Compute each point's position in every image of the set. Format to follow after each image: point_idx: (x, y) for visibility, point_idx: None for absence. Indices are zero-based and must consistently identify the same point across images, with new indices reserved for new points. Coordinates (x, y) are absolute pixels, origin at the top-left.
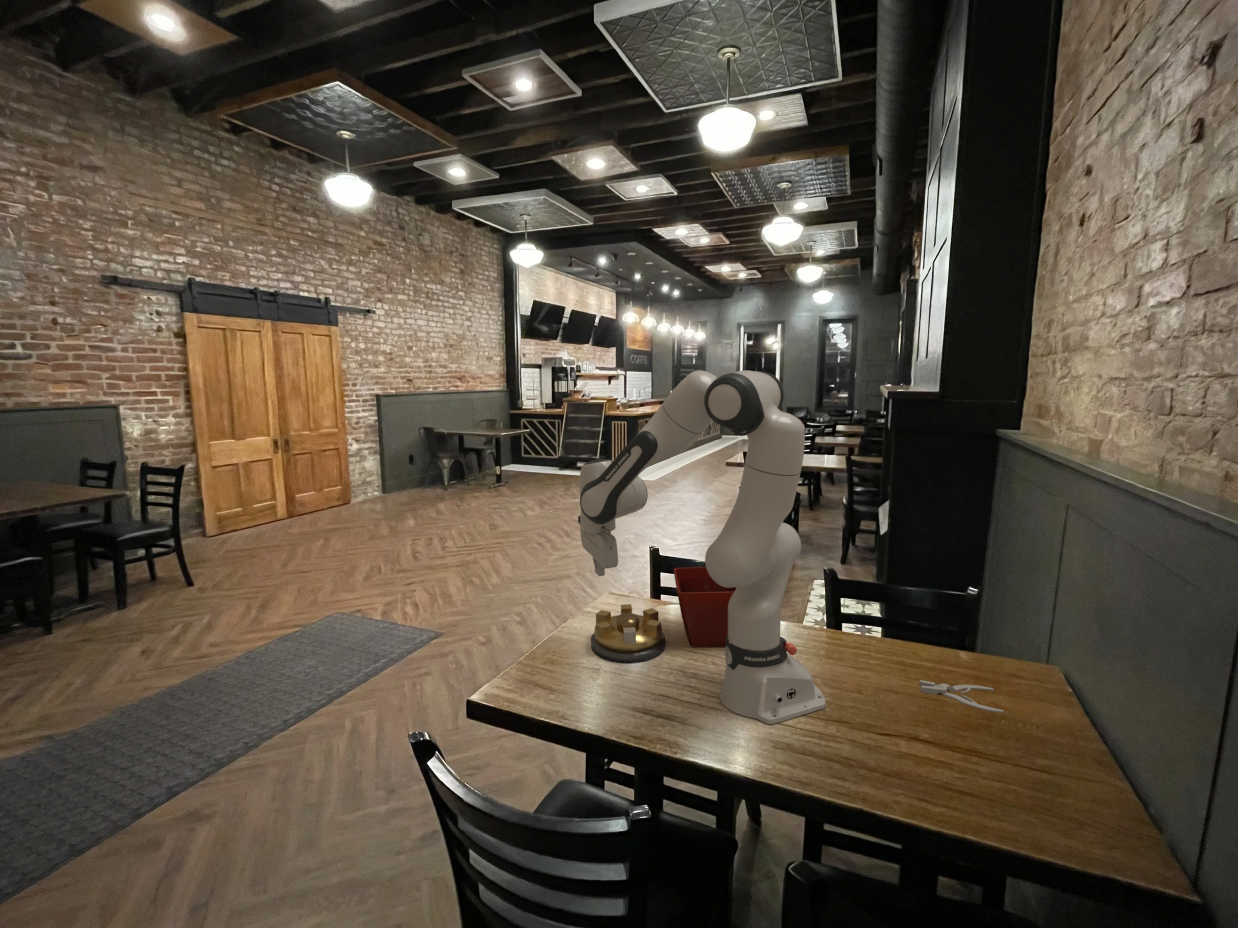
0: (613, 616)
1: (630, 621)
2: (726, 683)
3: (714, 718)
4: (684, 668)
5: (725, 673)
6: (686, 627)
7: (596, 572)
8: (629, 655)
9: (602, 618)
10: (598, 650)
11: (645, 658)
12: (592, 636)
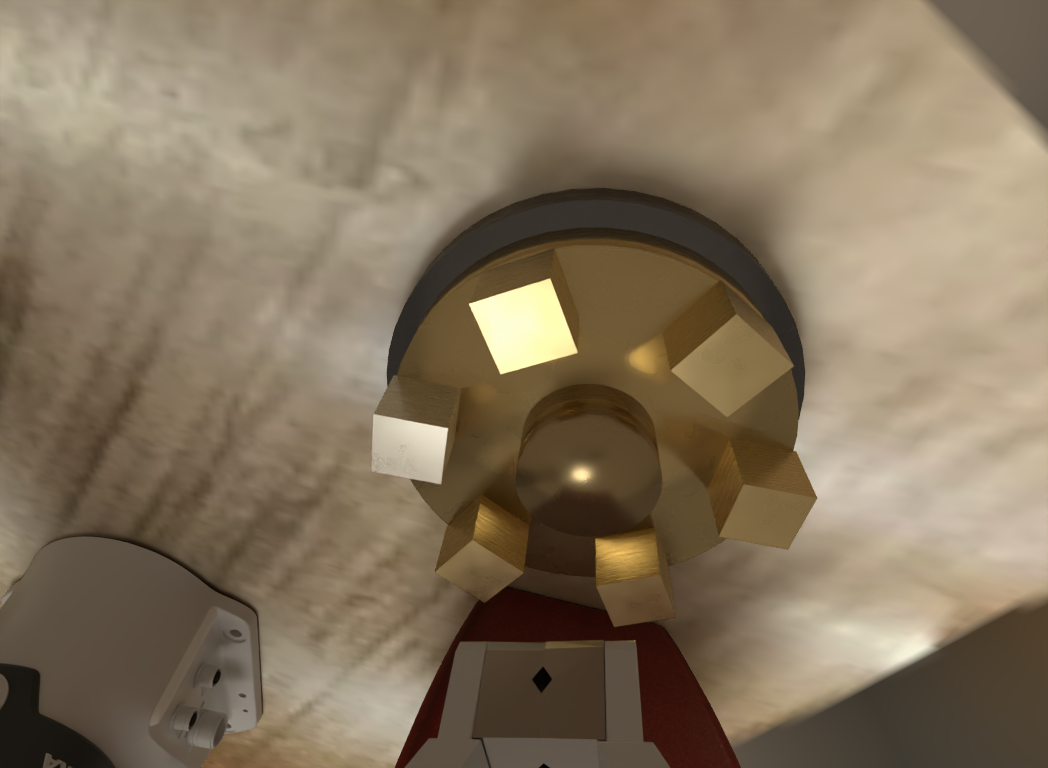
0: (792, 407)
1: (527, 482)
2: (56, 599)
3: (12, 488)
4: (330, 515)
5: (70, 625)
6: (449, 652)
7: (546, 661)
8: (392, 364)
9: (686, 341)
10: (492, 222)
11: None
12: (680, 222)
